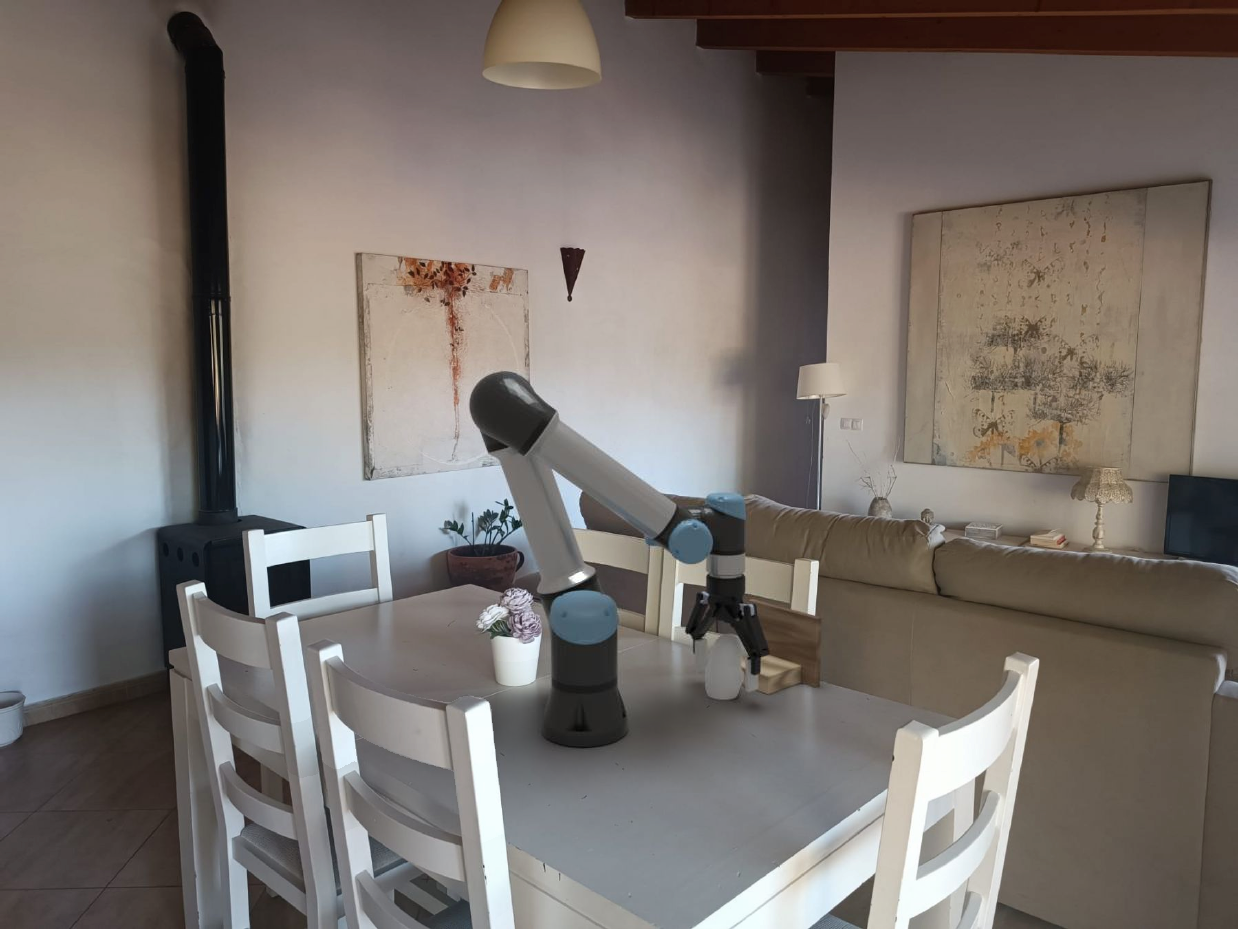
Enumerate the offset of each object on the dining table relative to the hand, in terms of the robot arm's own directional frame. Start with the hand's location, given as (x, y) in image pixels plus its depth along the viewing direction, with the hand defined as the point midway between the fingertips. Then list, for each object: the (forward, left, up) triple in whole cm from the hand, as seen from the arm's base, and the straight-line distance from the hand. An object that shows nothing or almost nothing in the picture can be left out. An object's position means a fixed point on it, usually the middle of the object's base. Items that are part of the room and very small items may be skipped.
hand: (725, 680), depth 167 cm
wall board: (+12, 0, -3) cm, 12 cm away
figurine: (0, 0, -3) cm, 3 cm away
